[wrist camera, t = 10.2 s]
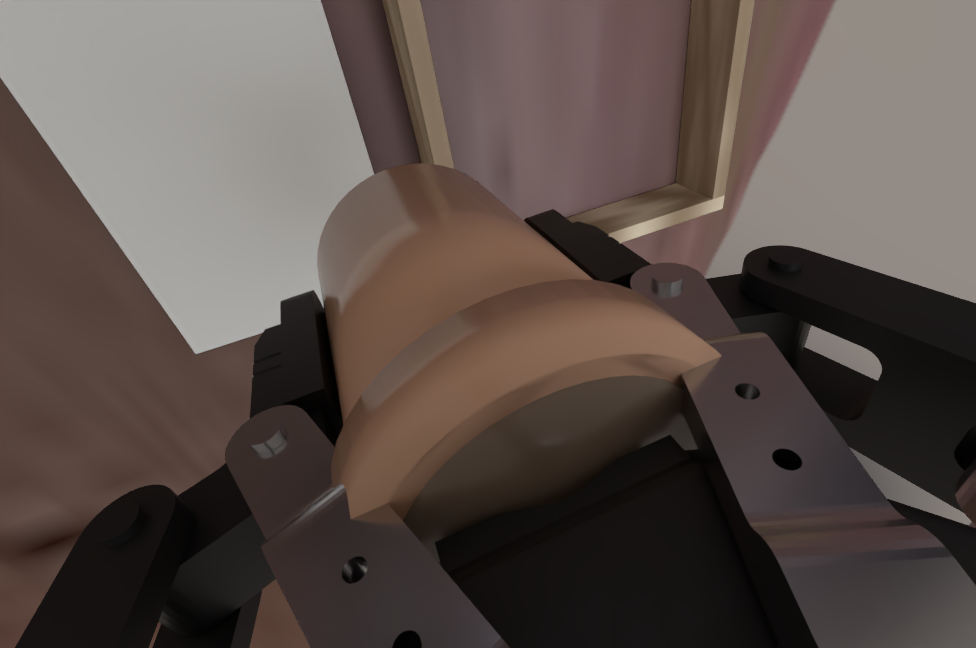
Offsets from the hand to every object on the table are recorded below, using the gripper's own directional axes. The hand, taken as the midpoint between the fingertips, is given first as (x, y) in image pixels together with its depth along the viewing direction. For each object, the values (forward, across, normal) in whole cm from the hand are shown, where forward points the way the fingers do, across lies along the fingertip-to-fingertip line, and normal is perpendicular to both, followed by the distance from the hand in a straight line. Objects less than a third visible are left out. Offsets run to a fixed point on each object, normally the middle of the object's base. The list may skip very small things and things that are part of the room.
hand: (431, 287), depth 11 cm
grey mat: (+19, +6, 0) cm, 20 cm away
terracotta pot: (+1, 0, 0) cm, 1 cm away
